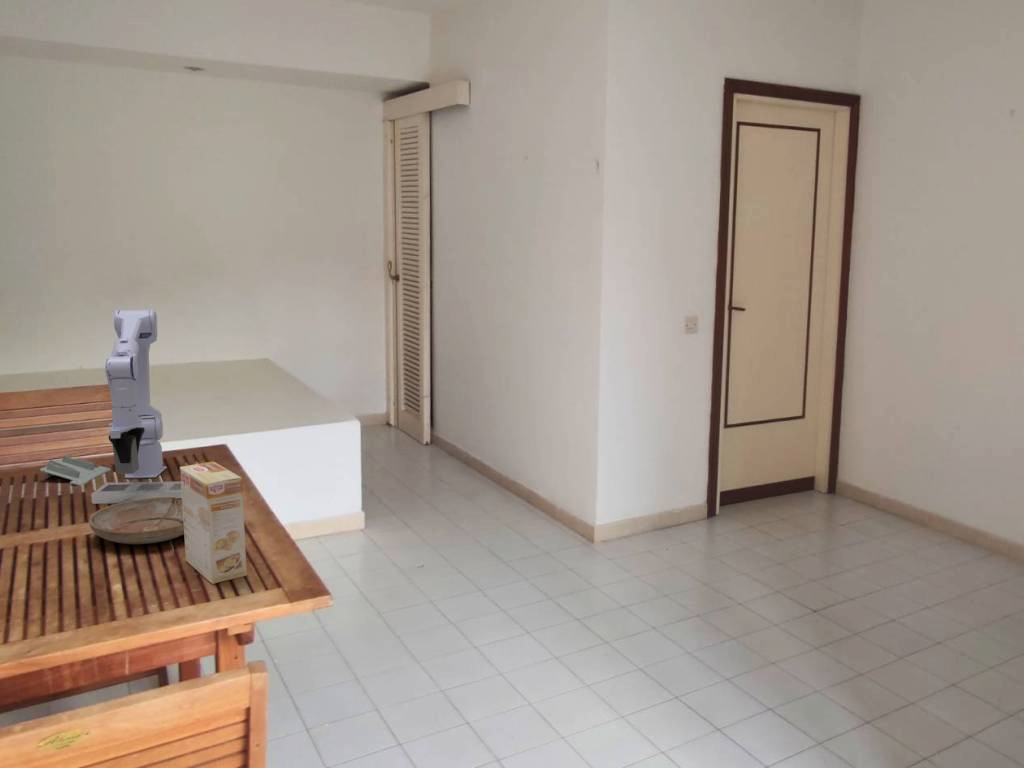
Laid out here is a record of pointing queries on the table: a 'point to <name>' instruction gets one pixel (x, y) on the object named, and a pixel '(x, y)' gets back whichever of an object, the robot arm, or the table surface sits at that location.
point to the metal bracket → (74, 470)
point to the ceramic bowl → (140, 521)
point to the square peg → (127, 467)
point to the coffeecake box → (213, 521)
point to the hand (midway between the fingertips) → (129, 460)
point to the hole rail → (135, 491)
